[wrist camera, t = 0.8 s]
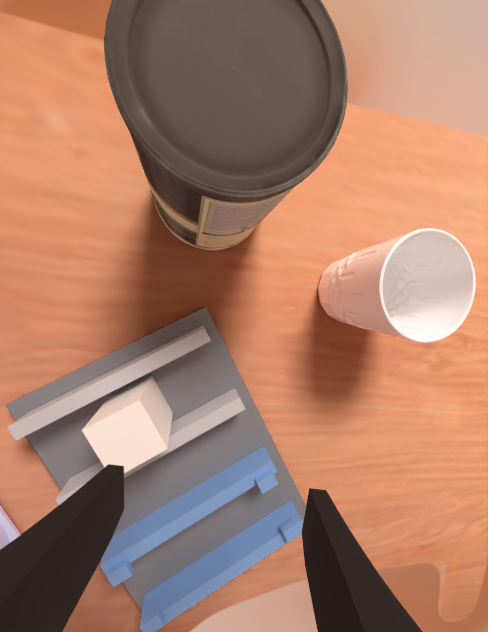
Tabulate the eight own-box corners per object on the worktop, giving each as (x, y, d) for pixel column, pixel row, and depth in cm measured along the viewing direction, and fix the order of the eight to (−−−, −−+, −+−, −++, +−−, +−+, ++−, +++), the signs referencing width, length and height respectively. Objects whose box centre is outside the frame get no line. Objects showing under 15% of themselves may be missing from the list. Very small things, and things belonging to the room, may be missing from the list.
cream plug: (131, 435, 24) (112, 480, 18) (108, 397, 23) (81, 430, 17) (172, 412, 24) (167, 448, 19) (151, 375, 24) (139, 399, 18)
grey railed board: (149, 609, 26) (141, 665, 22) (13, 400, 23) (-25, 422, 19) (305, 506, 29) (324, 540, 25) (205, 306, 25) (208, 308, 21)
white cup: (307, 258, 27) (373, 235, 17) (375, 248, 29) (471, 222, 19) (317, 334, 28) (386, 353, 18) (383, 320, 29) (480, 331, 20)
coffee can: (138, 230, 24) (69, 136, 10) (171, 118, 24) (146, -129, 10) (247, 266, 26) (312, 230, 12) (277, 164, 26) (376, 12, 12)
